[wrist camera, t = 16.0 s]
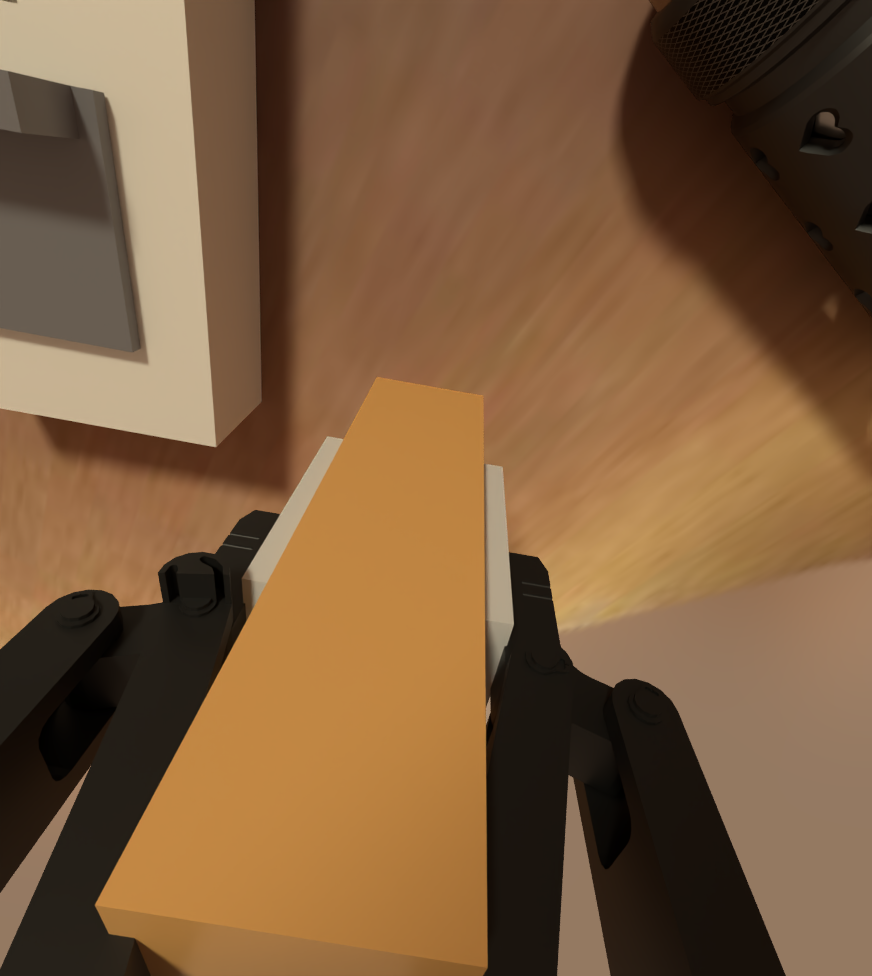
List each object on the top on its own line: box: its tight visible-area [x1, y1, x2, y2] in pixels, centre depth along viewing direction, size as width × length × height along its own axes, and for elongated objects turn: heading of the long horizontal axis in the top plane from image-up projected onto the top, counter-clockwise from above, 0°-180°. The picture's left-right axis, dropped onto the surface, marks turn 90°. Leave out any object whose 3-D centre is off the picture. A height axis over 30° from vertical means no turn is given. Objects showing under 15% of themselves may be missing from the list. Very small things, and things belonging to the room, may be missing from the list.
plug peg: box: [95, 377, 488, 976], centre depth 13 cm, size 4×4×16 cm
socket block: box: [0, 0, 262, 447], centre depth 28 cm, size 32×20×8 cm, turn 170°
